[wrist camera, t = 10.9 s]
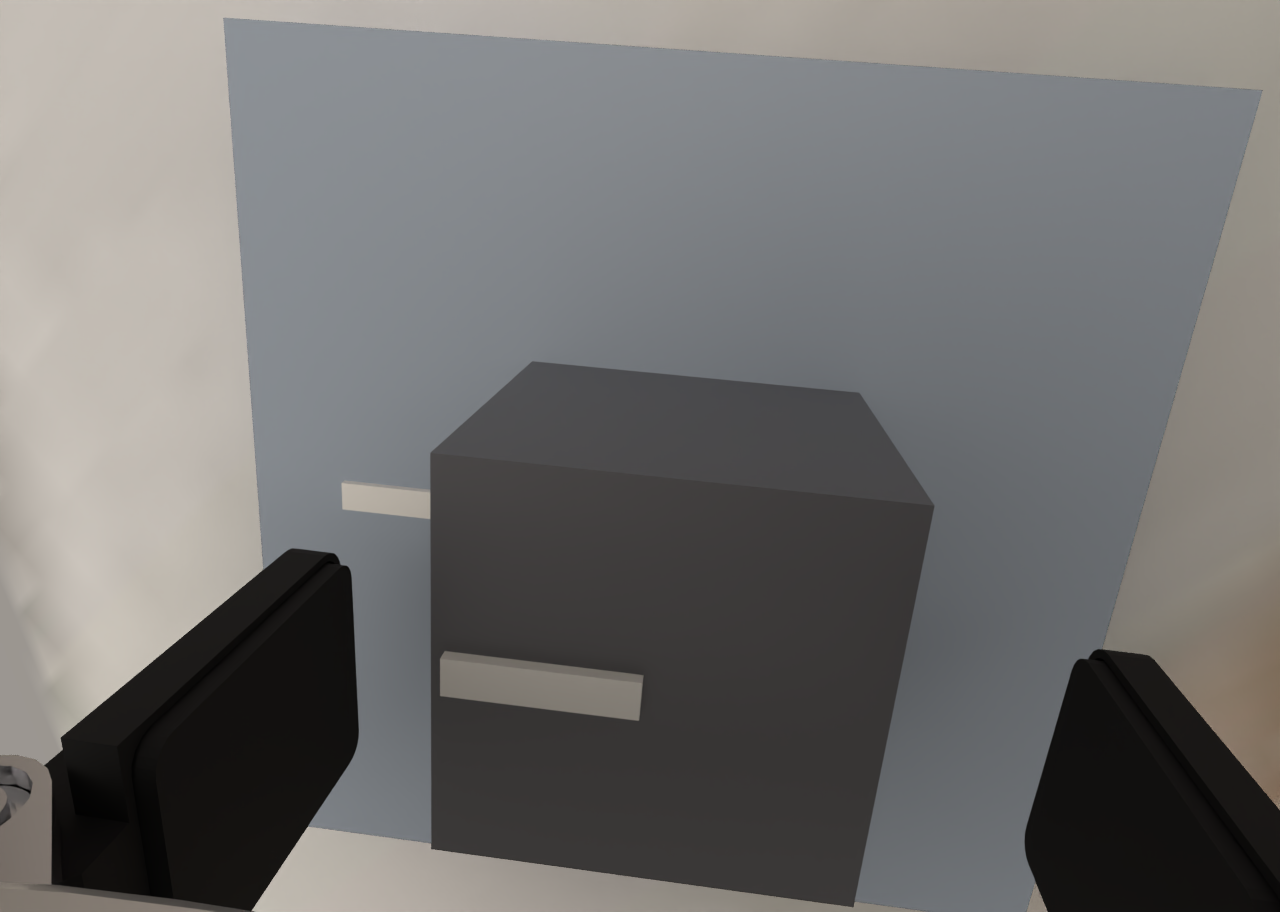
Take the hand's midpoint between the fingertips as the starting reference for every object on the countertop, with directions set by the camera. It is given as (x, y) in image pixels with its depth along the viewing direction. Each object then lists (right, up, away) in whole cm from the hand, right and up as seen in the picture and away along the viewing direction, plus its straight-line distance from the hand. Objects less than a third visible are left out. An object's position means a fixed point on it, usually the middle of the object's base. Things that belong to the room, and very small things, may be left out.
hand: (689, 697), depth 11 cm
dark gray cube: (0, +2, +6) cm, 7 cm away
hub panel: (0, +2, +8) cm, 8 cm away
